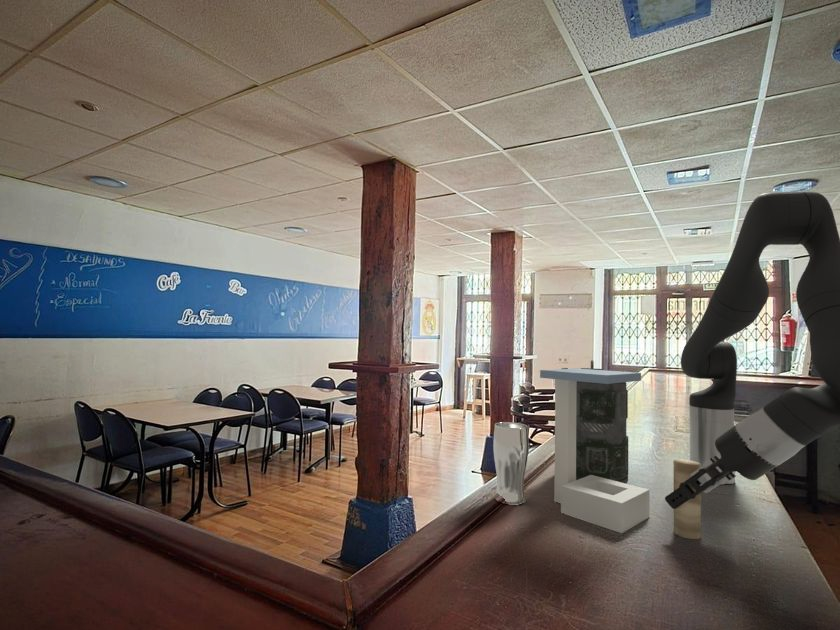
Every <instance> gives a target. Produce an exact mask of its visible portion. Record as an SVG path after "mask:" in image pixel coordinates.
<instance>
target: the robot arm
mask: <svg viewBox="0 0 840 630" xmlns="http://www.w3.org/2000/svg"><path fill="white" fill-rule="evenodd" d="M738 233H739V234H738V236H737V239H736V242H735V245H734V248H733V251H732V253H731V256H730V258H729V260H728V263H726V264H727V265H726V267H725V269H724V270H723V273H722V276H721V277H720V280H719V281H718V282H717V284H716V287H715V289H714V290H713V293H712V295H711V297H710V300H709V302H708V305H707V307H706V309H705V311H704V313H703V316H702V317H701V320H700V321H699V323H698V325H697V327H696V328H695V330H694V331H693V332H692V334H691V335H690V336H689V339H688V340H687V341H686V344H685V345H684V348H683V350H682V353H681V355H680V356H681V357H680V366H681V367H680V368H681V371H682V372H683V373H684V374H685V375H686V376H688V377H689V378H694V379H699V380H700V379H703V380H706V379H707V380H713V381H712V384H711V385H709V386H708V387H706V388H705V389H702V390H699V391H694V392H692V393H691V394H690V395H689V398H688V399H689V407H688V408H689V460H690V461H695V462H698V463H700V464H701V467H700V468H699V469H697V470H696V471H694V472H693V473H691V474H690V478H689V479H688V480H686V481H685V482H682V483H680V485H679V488H678V489H676V490H675V491H674V490H673V491H672V492H670V493H668V494H667V495H666V496H665V497H664V500H665V502H666V503H667V504H668V505H669V506H670V508H671V509H673V510H674V509H676V508H678V507H679V506H681V505H682V504H684V503H685V502H687V501H688V500H690V499H694V498H696V496H697V495H698V494H700V493H705V494H707V493H710V492H711V491H712V490H714V489H715V488H717V487H719V486H720V485H732V484H734V483H736V477H737V476H736V473H739V475H740V476H741V477H742V478H743V477H744V478H746V479H747V480H749V481H756V480H759V478H761V477H763V476H764V475H766V474H767V473H769V472H771V471H772V470H774V469H775V468H777V467H779V466H780V465H782V464H783V463H785V462H786V461H788V460H789V459H791V458H792V457H794V456H796V455H797V453H799V451H801V450H802V449H803V448H804V447H806V446H808V445H809V444H810V443H812V442H814V441H815V440H817V439H818V438H820V437H822V436H823V435H824V434H826V433H827V432H829V430H831V429H833V428H836V427H839V426H840V234H839V231H838V227H837V223H836V219H835V214H834V211H833V209H832V206H831V204H830V202H829V200H828V198H826V197H825V196H824V195H823V194H821V193H820V192H815V191H782V192H779V191H777V192H776V191H773V192H765V193H760V194H759V195H758V196H757V197H756V198H754V200H753V201H752V202H751V204H750V206H749V207H748V209H747V211H746V214H745V216H744V219H743V222H742V225H741V227H740V229H739V232H738ZM770 245H773V246H778V245H780V246H789V245H790V246H791V245H792V246H796V245H801V246H802V247H803V248H804V249H805V250H806V252H807V254H808V256H809V257H808V258H809V259H808V263H807V265H806V267H805V269H804V271H803V272H802V275H801V277H800V278H799V279H798V283H797V287H796V291H795V298H796V304H797V307H798V309H799V311H800V315H801V317H802V320H803V322H804V324H805V326H806V329H807V330H808V332H809V347H810V355H811V361H812V365H813V367H814V370H815V371H816V373H817V374H818V375H817V376H819V377H820V379H821V381H823V383H821V384H820V385H818V386H815V387H813V388H812V387H810V388H807V387H800V386H795V387H792V388H789V389H787V390H786V391H784V392H782V393H781V394H780V395H778V396H776V397H775V398H774V399H773V400H771V401H770V402H768V403H767V404H765V405H764V406H763V407H761V408H760V409H758V410H756V411H754V412H752V413H750V414H749V415H747V416H746V417H745V418H743V419H742V420H740V421H739V422H738V423H736V424H735V400H736V395H737V393H736V392H737V374H738V373H737V372H738V357H737V356H738V355H737V352H736V348H735V346H734V345H733V344H732V343H730V342H727V341H725V340H726V339H728V338H730V337H732V336H734V335H735V334H738V333H740V332H741V331H743V330H745V329H746V328H747V327H749V326H750V325H751V324H753V323H754V322H755V320H756V319H757V318H758V317H759V315H760V313H761V312H762V310H763V308H764V307H765V305H766V304H767V301H768V299H769V295H770V289H769V284H768V281H767V278H766V277H765V275H764V272H763V270H762V268H761V265H760V257H761V254H762V253H763V251H764V250H765V248H766V247H768V246H770ZM689 483H690V484H691V485H692V486H693V487H694V489H695V490H696V492H694V491H693V489H692V488H691V487H690V486H689V485H688V484H689Z"/></svg>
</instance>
